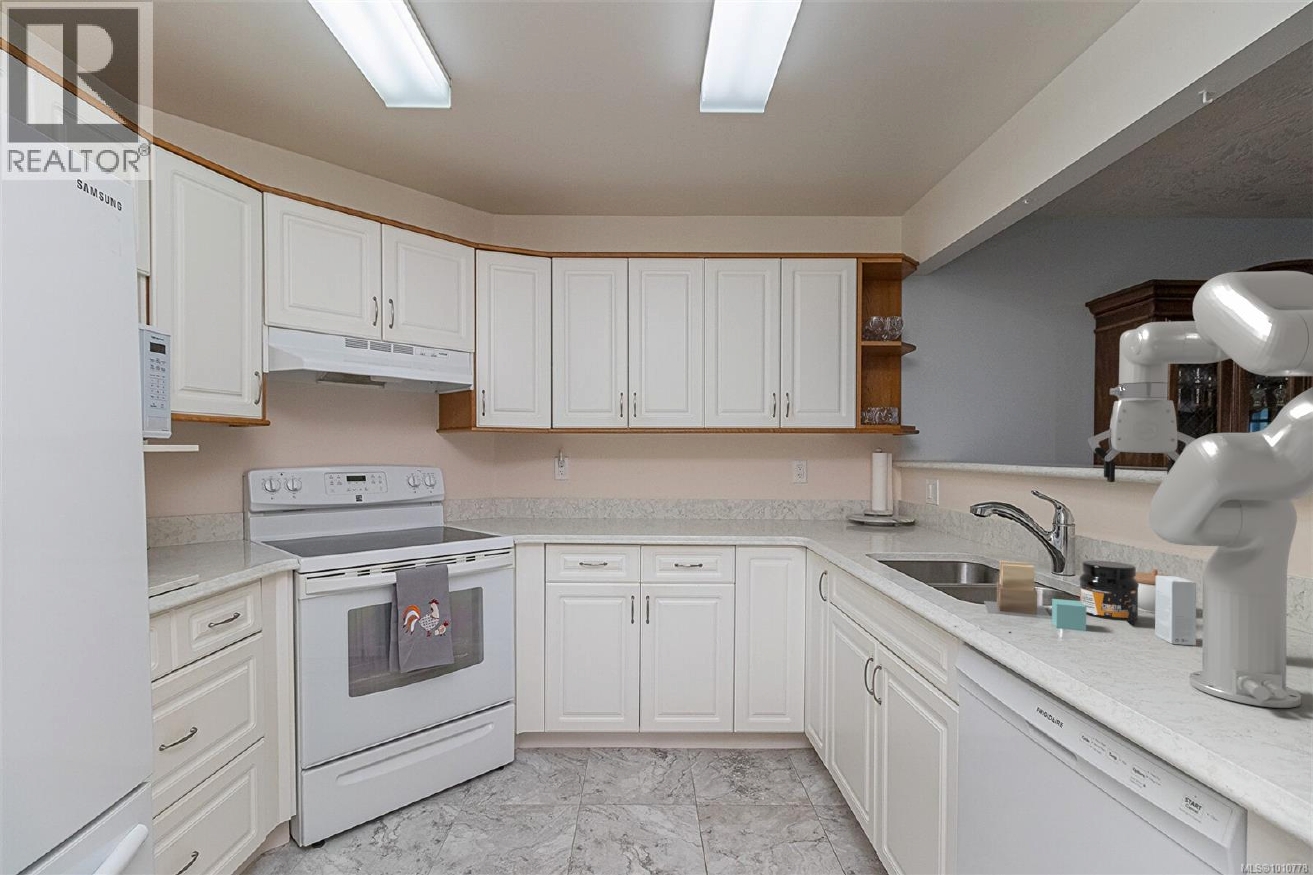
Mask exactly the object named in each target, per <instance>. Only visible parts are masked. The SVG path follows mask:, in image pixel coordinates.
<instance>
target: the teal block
mask: <svg viewBox="0 0 1313 875" xmlns="http://www.w3.org/2000/svg"><path fill="white" fill-rule="evenodd" d="M1051 618H1052V619H1051V622H1052V624H1053V626H1054V627H1055V628H1056V629H1061V630H1072V631H1081V632H1087V615H1086V606H1085V605H1084V604H1083V603H1082V602H1081V601H1080V600H1073V599H1072V600H1069V599H1059V598H1052V599H1051Z"/></svg>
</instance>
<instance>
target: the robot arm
mask: <svg viewBox="0 0 1313 875" xmlns="http://www.w3.org/2000/svg"><path fill="white" fill-rule="evenodd" d="M1192 316H1193V319H1194V320H1187V321H1185V320H1184V321H1176V320H1175V321H1152V322H1148V323H1147V322H1146V323H1144V324H1142V325H1140V326H1138V327H1137V328H1134V329H1128V330H1126V331H1124V332H1122V334H1121V335H1120V338H1119V357H1118V358H1119V363H1118V366H1119V368H1118V385H1117V386H1116V387H1114V388H1112V387H1111V388H1110V389H1109V395H1110V396H1116V397H1117V399H1118V400H1115V401H1114V402H1113V406H1112V411H1111V416H1110V423H1109V424H1110V425H1109V429H1108V430H1105V431H1104V432H1101V433H1099V434H1096V435H1093V436H1091V437H1089V438H1088V439H1087V442H1088V444H1089V446H1090V447H1091V449H1092V450H1093V453H1094V454H1096V455H1097V456H1098V457H1099V458H1100V459H1101V460H1102V461H1103V478H1106V481H1107V482H1109V483H1114V482H1116V481H1115V480H1116V462H1115V461H1114V458H1116V456H1118V455H1119V454H1120V453H1121V452H1122V453H1140V454H1141V453H1146V454H1148V453H1149V454H1153V453H1154V454H1163V455H1165V456H1166V457H1167V458H1168V460H1169V462H1168V463H1167V464H1166V466H1167V467H1166V476H1165V477H1164V479H1163V480H1162V481H1161V484H1159V486H1158V488H1157V489H1156V491H1155V493H1154V495H1153V497H1152V500H1151V502H1150V506H1149V511H1148V512H1149V513H1148V518H1149V523H1150V527H1151V528H1152V531H1153V532H1154V533H1155V534H1156V535H1157V536H1158V537H1159V538H1161V540H1163V541H1165V542H1168V543H1171V544H1174V545H1180V546H1181V545H1182V546H1195V547H1196V546H1199V547H1201V546H1202V547H1216V549H1215V550H1214V551H1213V553H1212V554H1211V555H1210V557H1209V558H1208V560H1207V561H1206V563H1205V566H1204V570H1203V573H1202V670H1198V671H1193V672H1191V673H1190V674H1189V683H1190V684H1191V685H1192V686H1193V687H1194V688H1196V689H1198V690H1199V691H1201V692H1204V693H1206V694H1209V695H1211V696H1215V697H1216V698H1217V697H1218V698H1220V699H1225V700H1228V701H1233V702H1235V703H1241V704H1245V705H1252V706H1256V707H1263V708H1265V707H1266V708H1275V709H1277V708H1278V709H1290V708H1296V707H1298V706H1300V705H1301V704H1302V695H1301V694H1300V693H1299V692H1297V691H1296V690H1294V689H1293V688H1291V687H1289V686H1287V598H1288V597H1287V595H1288V565H1289V556H1290V552H1291V547H1292V542H1293V539H1294V536H1295V532H1296V527H1297V523H1298V520H1297V519H1298V516H1297V509H1296V507H1295V505H1294V503H1293V501H1292V500H1299V499H1301V498H1305V497H1307V496H1309V495H1311V494H1312V493H1313V386H1312V387H1310V388H1308V389H1307V390H1305V391H1303V392H1301V393H1300V394H1298V395H1296V397H1294V398H1292V399H1291V400H1290V401H1289V402H1287V403H1286V404H1285V405H1284V406H1283V407H1282V408H1281V410H1280V411H1279V412H1278V413H1277V416H1276V417H1275V418H1274V419H1273V420H1272V421H1271V423H1269V424H1268V425H1267V427H1265V428H1263V429H1261V430H1258V431H1253V432H1217V433H1215V432H1214V433H1208V434H1205V435H1203V436H1200V437H1198V438H1194V437H1192V436H1190V435H1187V434H1186V433H1183V432H1180V431H1178V428H1177V425H1178V424H1177V416H1176V409H1175V404H1174V401H1173V400H1168V386H1169V385H1168V383H1169V382H1168V381H1169V380H1168V379H1169V375H1168V374H1169V373H1168V372H1169V365H1171V364H1172V365H1173V364H1174V365H1175V364H1181V365H1182V364H1184V365H1185V364H1193V365H1194V364H1195V365H1196V364H1199V365H1200V364H1211V363H1217V362H1221V361H1222V362H1223V361H1226V360H1229V359H1231V360H1233V362H1235V363H1236V365H1238V366H1239V367H1240V368H1242V369H1243V370H1246V371H1248V372H1249V373H1251V374H1252V373H1253V374H1254V375H1260V376H1267V377H1313V274H1310V273H1307V272H1303V271H1298V270H1272V271H1270V270H1269V271H1234V272H1233V271H1231V272H1226V273H1222V274H1219V275H1216V276H1215V277H1212V278H1211V279H1210V278H1209V280H1207V281H1206V282H1205V283H1204V284H1202V285H1201V287H1200V288H1199V289H1198V291H1197V293H1196V294H1195V296H1194V299H1193V301H1192ZM1106 439H1108V446H1109V449H1108V450H1107V451H1105V449H1104V448H1102V447H1101V446H1100V444H1099V443H1100V442H1101V441H1104V440H1106ZM1178 441H1180V442H1183V443H1185V446H1184V448H1183V449H1182V450H1180V451H1179V452H1177V448H1178Z"/></svg>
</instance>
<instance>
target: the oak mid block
mask: <svg viewBox="0 0 1313 875" xmlns="http://www.w3.org/2000/svg"><path fill="white" fill-rule="evenodd" d="M999 582H1000V584H1001V586H1002V588H1007V589H1019V590H1031V591H1034V588H1035V566H1034V565H1033V564H1031V562H1026V561H1025V562H1024V561H1023V562H1022V561H1008V560H999Z"/></svg>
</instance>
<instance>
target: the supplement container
mask: <svg viewBox="0 0 1313 875" xmlns="http://www.w3.org/2000/svg"><path fill="white" fill-rule="evenodd" d="M1081 565H1082V566H1081V570H1082V571H1083V573H1082V574H1081V575H1080V576H1079V601H1081V602H1082V603H1083V604H1084V605H1085V606H1086V616H1089V617H1093V618H1099V619H1103V620H1110V621H1119V622H1120V621H1125V622H1126V623H1127V624H1129V625H1131V626H1132V625H1134V624H1136V623H1138V621H1139V609H1138V587H1139V583H1138V582H1137V581H1136V579H1135V578H1134V577H1135V576H1136V572H1137V568H1136V566H1135V565H1132V564H1129V563H1126V562H1125V563H1124V562H1117V561H1109V560H1092V559H1091V560H1084V561H1082V564H1081Z"/></svg>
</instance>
